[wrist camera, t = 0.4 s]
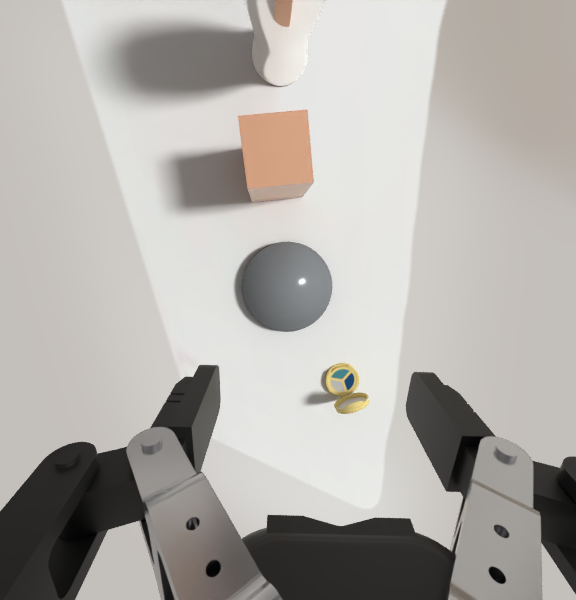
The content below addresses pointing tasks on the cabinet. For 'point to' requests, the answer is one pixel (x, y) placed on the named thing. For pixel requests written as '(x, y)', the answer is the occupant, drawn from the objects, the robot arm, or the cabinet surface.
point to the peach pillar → (276, 154)
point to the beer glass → (282, 37)
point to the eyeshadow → (345, 388)
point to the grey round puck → (286, 286)
